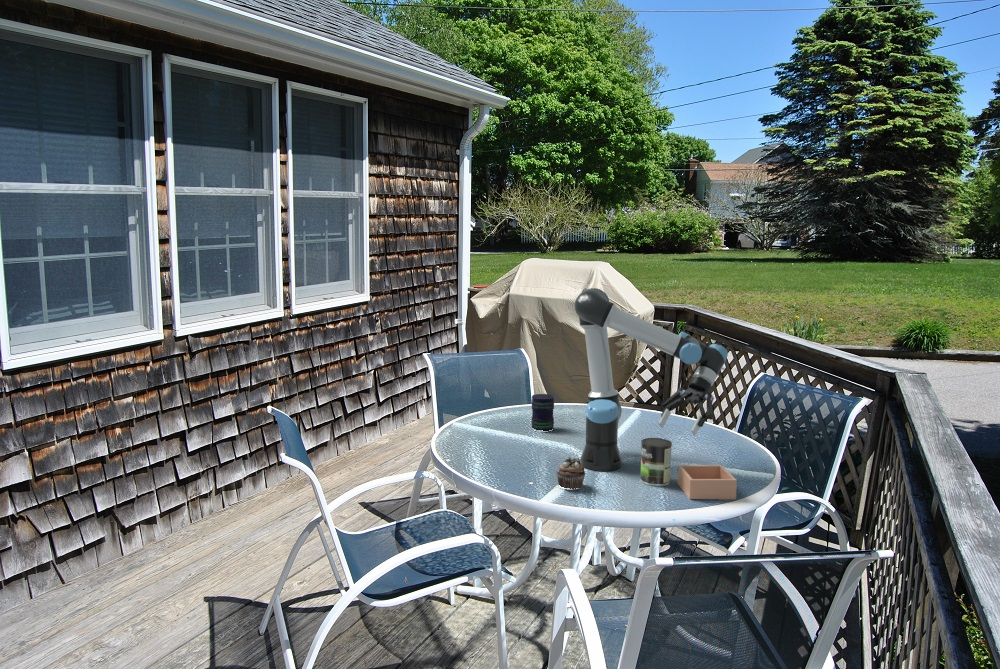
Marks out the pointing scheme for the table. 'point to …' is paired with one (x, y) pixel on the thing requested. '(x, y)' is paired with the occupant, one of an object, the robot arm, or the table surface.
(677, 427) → the table surface
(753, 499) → the table surface
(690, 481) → the planter box
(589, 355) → the robot arm
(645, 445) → the coffee can
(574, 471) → the cupcake
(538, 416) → the storage jar
